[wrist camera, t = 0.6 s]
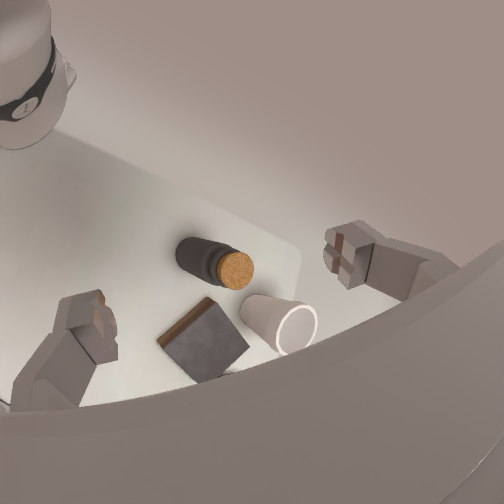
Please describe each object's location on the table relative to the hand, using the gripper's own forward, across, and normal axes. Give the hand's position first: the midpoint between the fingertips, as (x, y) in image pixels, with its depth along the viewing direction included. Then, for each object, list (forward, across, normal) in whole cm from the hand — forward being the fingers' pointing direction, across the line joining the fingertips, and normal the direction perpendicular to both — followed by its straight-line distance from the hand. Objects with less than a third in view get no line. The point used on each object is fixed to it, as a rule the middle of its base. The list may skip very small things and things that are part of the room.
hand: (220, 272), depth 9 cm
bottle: (+32, -1, +20) cm, 38 cm away
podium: (+26, +2, +35) cm, 44 cm away
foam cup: (+30, -10, +35) cm, 47 cm away
